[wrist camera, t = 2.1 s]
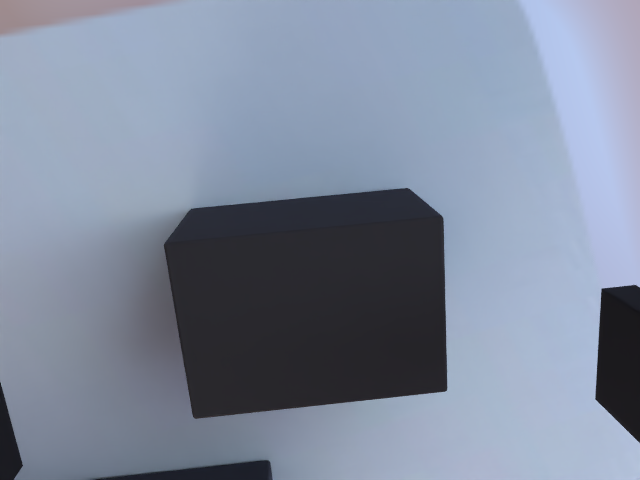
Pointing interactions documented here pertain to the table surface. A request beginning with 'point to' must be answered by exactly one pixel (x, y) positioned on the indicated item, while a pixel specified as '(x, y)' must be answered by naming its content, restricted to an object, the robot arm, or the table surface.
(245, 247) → the black pad
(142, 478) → the charcoal pad
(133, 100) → the table surface
